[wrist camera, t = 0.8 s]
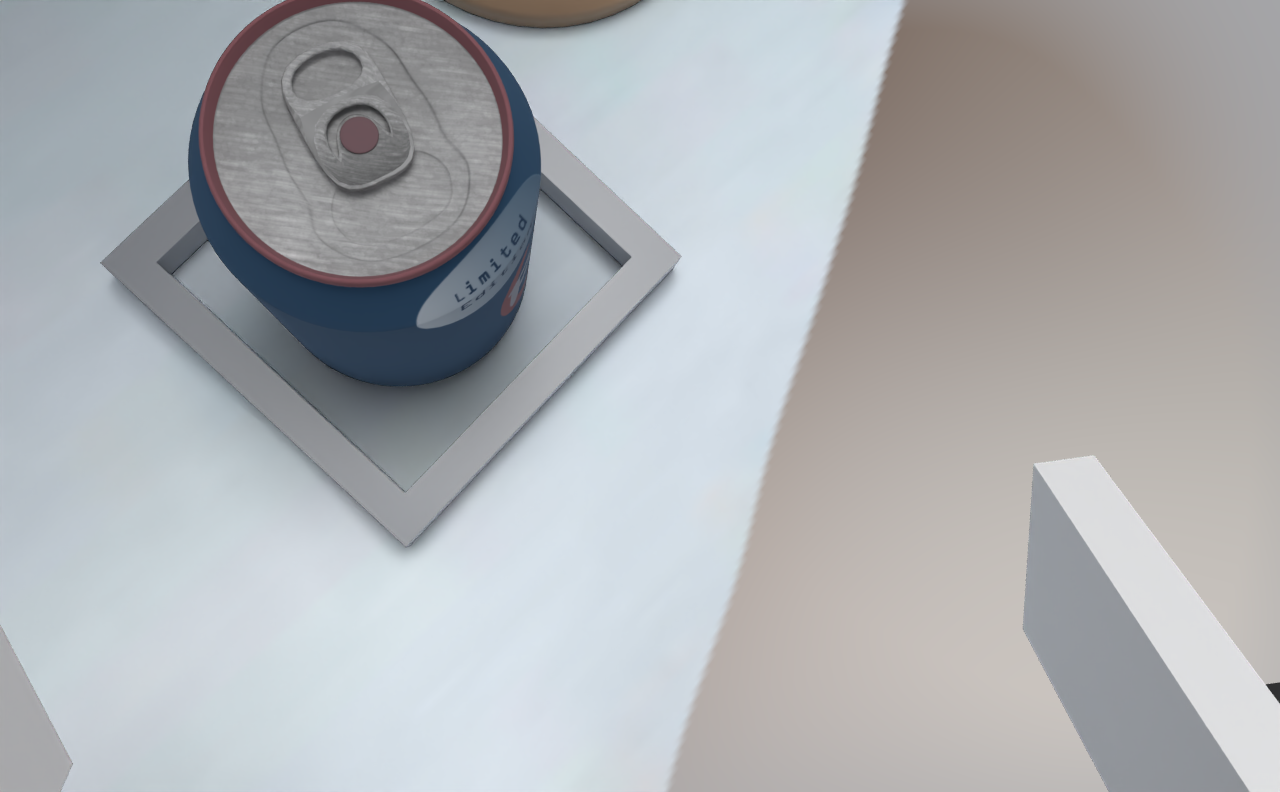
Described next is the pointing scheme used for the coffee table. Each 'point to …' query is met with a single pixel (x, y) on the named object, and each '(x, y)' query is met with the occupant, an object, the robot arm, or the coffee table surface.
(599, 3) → the coaster
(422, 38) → the soda can
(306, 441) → the can holder
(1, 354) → the coffee table surface
